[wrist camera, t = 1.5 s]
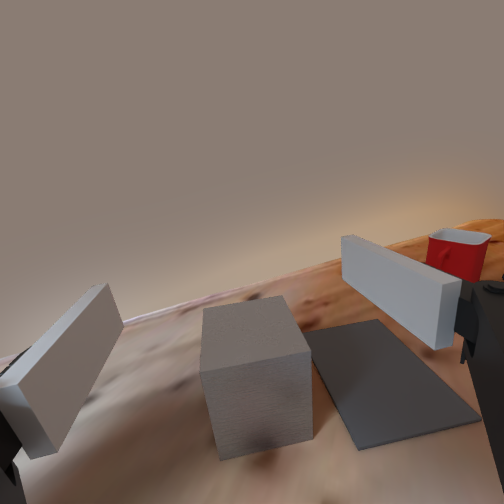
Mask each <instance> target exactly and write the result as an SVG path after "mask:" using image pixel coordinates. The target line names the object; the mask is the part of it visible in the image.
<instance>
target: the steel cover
mask: <svg viewBox="0 0 504 504" xmlns="http://www.w3.org/2000/svg"><path fill="white" fill-rule="evenodd" d="M199 373H200V377H201V381H202V386H203V390H204V394H205V398H206V403H207V407H208V411H209V416H210V420H211V424H212V429H213V433H214V437H215V441H216V446H217V450H218V454H219V459H220V461H222V460H226V459H231V458H235V457H239V456H243V455H248V454H252V453H256V452H260V451H265V450H269V449H273V448H278V447H282V446H286V445H290V444H295V443H299V442H303V441H307V440H312V439H313V412H312V369H311V350H310V348H309V346H308V344H307V342H306V340H305V338H304V336H303V334H302V332H301V330H300V328H299V327H298V325H297V323H296V321H295V319H294V317H293V315H292V313H291V311H290V309H289V307H288V306H287V304H286V302H285V300H284V298H283V296H282V295H281V296H275V297H269V298H263V299H257V300H252V301H246V302H240V303H234V304H228V305H222V306H216V307H210V308H204V309H203V325H202V340H201V356H200V371H199Z"/></svg>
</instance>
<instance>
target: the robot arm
mask: <svg viewBox="0 0 504 504" xmlns="http://www.w3.org/2000/svg"><path fill="white" fill-rule="evenodd" d="M341 254H342V279H343V280H344V281H345V282H347V283H348V284H349V285H350V286H352V287H353V288H354V289H356V290H357V291H358V292H360V293H361V294H362V295H363V296H365V297H366V298H367V299H369V300H370V301H371V302H372V303H374V304H375V305H376V306H378V307H379V308H380V309H381V310H383V311H384V312H385V313H387V314H388V315H389V316H390V317H392V318H393V319H394V320H396V321H397V322H398V323H400V324H401V325H402V326H403V327H405V328H406V329H407V330H409V331H410V332H411V333H412V334H414V335H415V336H416V337H418V338H419V339H420V340H421V341H423V342H424V343H425V344H427V345H428V346H429V347H431V348H432V349H433V350H434V351H435V350H438V349H442V348H446V347H449V346H452V345H453V338H454V332H456V333H458V334H459V335H461V336H463V337H464V342H463V348H462V354H461V360H460V363H461V364H464V362H465V360H467V363H468V367H469V371H470V374H471V378H472V381H473V385H474V388H475V392H476V396H477V399H478V403H479V406H480V410H481V414H482V417H483V421H484V424H485V428H486V432H487V435H488V439H489V442H490V446H491V449H492V453H493V457H494V460H495V464H496V467H497V471H498V475H499V478H500V482H501V485H502V489H503V493H504V282H499V281H478V282H475V283H472V282H470V281H467V280H465V279H462V278H460V277H457V276H455V275H452V274H450V273H448V272H446V273H445V271H443V270H440V269H436V268H435V267H433V266H431V265H428V264H426V263H421V262H418V261H416V260H413V259H411V258H408V257H406V256H404V255H401V254H399V253H396V252H394V251H392V250H389V249H387V248H384V247H382V246H379V245H377V244H374V243H372V242H370V241H367V240H365V239H363V238H360V237H358V236H355V235H349V236H343V237H341ZM123 328H124V325H123V322H122V320H121V317H120V314H119V312H118V309H117V306H116V304H115V301H114V298H113V295H112V293H111V290H110V287H109V285H108V283H105V284H99V285H94V286H92V287H91V288H90V289H89V290H88V291H87V292H86V293H85V294H84V295H83V296H82V297H81V298H80V299H79V300H78V301H77V302H76V303H75V304H74V305H73V306H72V307H71V308H70V309H69V310H68V311H67V312H66V313H65V314H64V315H63V316H62V317H61V318H60V319H59V320H58V321H57V322H56V323H55V324H53V326H52V327H51V328H50V329H48V331H47V332H45V333H44V334H43V335H42V336H41V338H40V339H39V340H37V342H35V343H34V344H33V345H32V346H31V347H30V348H28V349H27V350H25V351H24V352H22V353H21V354H19V355H18V356H17V357H16V358H15V359H14V360H13V361H12V362H11V363H10V364H9V366H8V367H6V368H5V369H4V370H3V371H2V372H1V373H0V504H27V503H26V499H25V495H24V491H23V487H22V483H21V479H20V475H19V471H18V468H17V466H16V465H15V463H14V462H13V459H14V457H15V456H16V454H17V453H18V451H19V450H20V448H21V447H23V449H24V450H25V452H26V454H27V455H28V457H29V458H30V460H32V459H35V458H39V457H43V456H46V455H50V454H54V453H58V451H59V449H60V447H61V445H62V443H63V441H64V439H65V438H66V436H67V434H68V432H69V430H70V428H71V426H72V424H73V422H74V421H75V419H76V417H77V415H78V413H79V411H80V409H81V407H82V405H83V404H84V402H85V400H86V398H87V396H88V394H89V392H90V390H91V388H92V387H93V385H94V383H95V381H96V379H97V377H98V375H99V373H100V371H101V370H102V368H103V366H104V364H105V362H106V360H107V358H108V356H109V354H110V353H111V351H112V349H113V347H114V345H115V343H116V341H117V339H118V337H119V336H120V334H121V332H122V330H123Z"/></svg>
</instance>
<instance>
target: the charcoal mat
mask: <svg viewBox="0 0 504 504" xmlns="http://www.w3.org/2000/svg"><path fill="white" fill-rule="evenodd" d="M302 334H303V336H304V338H305V340H306V342H307V344H308V346H309V348H310V350H311V358H312V360H313V362H314V364H315V366H316V368H317V370H318V372H319V374H320V376H321V378H322V380H323V382H324V384H325V386H326V388H327V390H328V392H329V394H330V396H331V397H332V399H333V401H334V403H335V405H336V407H337V409H338V411H339V413H340V415H341V417H342V419H343V421H344V423H345V425H346V427H347V429H348V431H349V433H350V435H351V437H352V439H353V441H354V443H355V445H356V447H357V449H358V451H360V450H364V449H368V448H372V447H376V446H380V445H384V444H388V443H392V442H396V441H400V440H405V439H409V438H413V437H417V436H421V435H425V434H429V433H433V432H437V431H441V430H445V429H450V428H454V427H458V426H462V425H466V424H470V423H474V422H478V421H481V420H482V418H481V417H480V416H479V415H478V414H477V413H476V412H475V411H474V410H473V409H472V408H471V407H470V406H469V405H468V404H467V403H466V402H465V401H464V400H462V399H461V398H460V397H459V396H458V395H457V394H456V393H455V392H454V391H453V390H452V389H451V388H450V387H449V386H448V385H447V384H446V383H445V382H443V381H442V380H441V379H440V378H439V377H438V376H437V375H436V374H435V373H434V372H433V371H432V370H431V369H430V368H429V367H428V366H427V365H426V364H424V363H423V362H422V361H421V360H420V359H419V358H418V357H417V356H416V355H415V354H414V353H413V352H412V351H411V350H410V349H409V348H408V347H407V346H405V345H404V344H403V343H402V342H401V341H400V340H399V339H398V338H397V337H396V336H395V335H394V334H393V333H392V332H391V331H390V330H389V329H388V328H386V327H385V326H384V325H383V324H382V323H381V322H380V321H379V320H378V319H374V320H369V321H364V322H358V323H353V324H348V325H342V326H337V327H332V328H327V329H321V330H316V331H311V332H305V333H302Z"/></svg>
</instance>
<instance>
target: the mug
mask: <svg viewBox="0 0 504 504" xmlns="http://www.w3.org/2000/svg"><path fill="white" fill-rule="evenodd" d="M428 237H429V245H428V251H427V258H426V264H428V265H431V266H433V267H435V268H436V269H440V270H443V271H445V273H446V272H448V273H450V274H452V275H455V276H457V277H460V278H462V279H465V280H467V281H470V282H472V283H475V282H478V281H479V278H480V274H481V270H482V266H483V262H484V258H485V254H486V250H487V246H488V242H489V240H490V238H491V237H492V235H490V234H486V233H481V232H473V231H466V230H458V229H450V228H443V229H440V230H438V231H436V232H434V233H432V234H430V235H429V236H428Z"/></svg>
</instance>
